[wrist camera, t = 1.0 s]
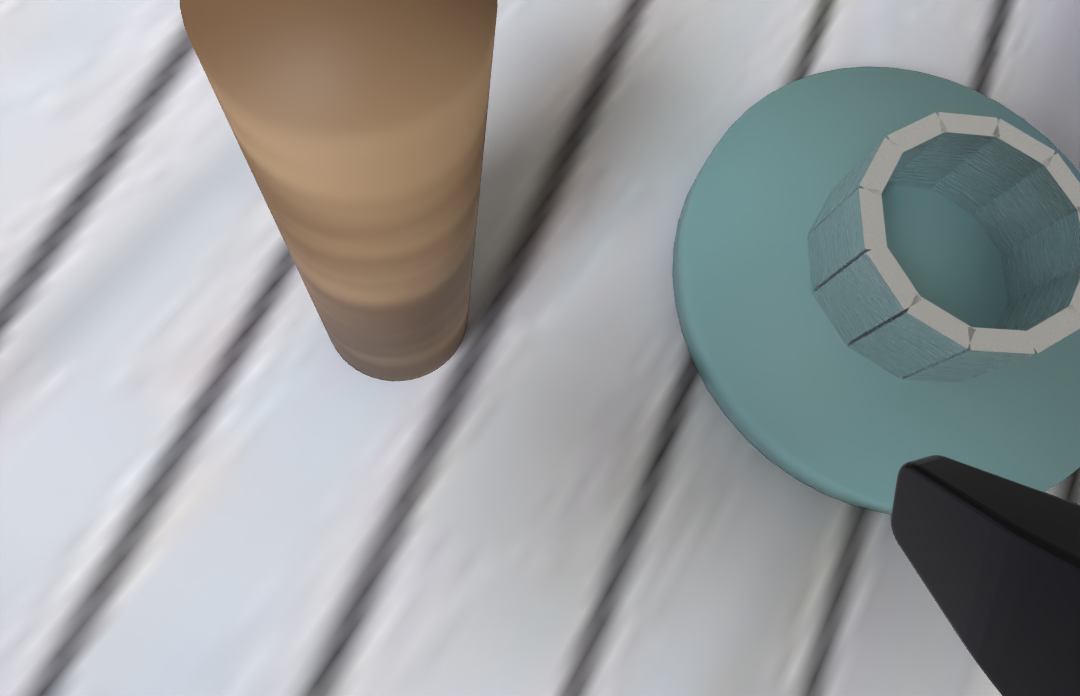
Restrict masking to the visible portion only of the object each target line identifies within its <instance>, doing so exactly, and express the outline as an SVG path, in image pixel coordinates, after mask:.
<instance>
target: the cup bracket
mask: <svg viewBox="0 0 1080 696" xmlns="http://www.w3.org/2000/svg"><path fill="white" fill-rule="evenodd" d="M673 284H674V295H675V304H676V308H677V312H678V317H679V321H680V326H681V330H682V333H683V336H684V339H685V341H686V344H687V347H688V349H689V352H690V355H691V358H692V360H693V362H694V364H695V366H696V368H697V370H698V372H699V374H700V376H701V378H702V380H703V382H704V384H705V385H706V387H707V389H708V390H709V392H710V393H711V395H712V396H713V398H714V399H715V401H716V402H717V404H718V405H719V407H720V408H721V410H722V411H723V412H724V414H725V415H726V416H727V417H728V419H729V420H730V421H731V422H732V423H733V424H734V425H735V427H736V428H737V429H738V430H739V431H740V432H741V433H742V435H743V436H744V437H745V438H746V439H747V440H748V441H749V442H750V443H751V444H753V445H754V446H755V447H756V448H757V449H758V450H759V451H760V452H761V453H762V454H764V455H765V456H766V457H767V458H768V459H769V460H770V461H772V462H773V463H775V464H776V465H777V466H779V467H780V468H782V469H783V470H784V471H786V472H787V473H789V474H790V475H791V476H793V477H794V478H796V479H797V480H799V481H801V482H803V483H805V484H807V485H808V486H810V487H812V488H814V489H816V490H818V491H820V492H821V493H823V494H825V495H828V496H830V497H833V498H836V499H838V500H841V501H843V502H846V503H848V504H851V505H854V506H857V507H861V508H865V509H869V510H873V511H878V512H882V513H887V514H891V513H892V506H893V500H894V494H895V488H896V481H897V475H898V472H899V470H900V468H901V467H902V465H903V464H905V463H907V462H910V461H914V460H917V459H921V458H924V457H928V456H931V455H941V456H944V457H948V458H950V459H953V460H956V461H959V462H962V463H964V464H967V465H970V466H973V467H975V468H978V469H981V470H984V471H987V472H989V473H992V474H995V475H998V476H1000V477H1003V478H1006V479H1009V480H1012V481H1014V482H1017V483H1020V484H1023V485H1025V486H1028V487H1031V488H1034V489H1037V490H1039V491H1042V492H1044V491H1046V490H1047V489H1049V488H1051V487H1053V486H1055V485H1057V484H1058V483H1060V482H1062V481H1063V480H1064V479H1065V478H1067V477H1068V476H1069V475H1071V474H1072V473H1073V472H1074V471H1076V470H1077V469H1078V468H1080V173H1079V172H1078V171H1077V170H1076V168H1075V167H1074V166H1073V165H1072V164H1071V162H1070V161H1069V160H1068V159H1067V158H1066V157H1065V156H1064V155H1063V154H1062V153H1061V152H1060V151H1059V150H1058V149H1057V148H1056V147H1055V146H1054V145H1053V144H1052V143H1051V142H1050V141H1049V140H1048V139H1047V138H1046V137H1045V136H1044V135H1042V134H1041V133H1040V132H1039V131H1037V130H1036V129H1035V128H1034V127H1033V126H1031V125H1030V124H1029V123H1028V122H1026V121H1025V120H1024V119H1023V118H1021V117H1019V116H1018V115H1016V114H1015V113H1013V112H1012V111H1010V110H1009V109H1007V108H1006V107H1004V106H1003V105H1001V104H1000V103H998V102H996V101H994V100H992V99H990V98H988V97H986V96H984V95H983V94H981V93H979V92H977V91H975V90H973V89H970V88H968V87H965V86H963V85H960V84H957V83H955V82H952V81H950V80H947V79H944V78H940V77H936V76H933V75H929V74H926V73H922V72H917V71H911V70H904V69H898V68H887V67H856V68H843V69H837V70H832V71H827V72H823V73H818V74H814V75H811V76H808V77H805V78H803V79H800V80H797V81H794V82H791V83H789V84H787V85H786V86H784V87H782V88H780V89H778V90H776V91H774V92H772V93H770V94H769V95H767V96H766V97H764V98H763V99H762V100H760V101H759V102H758V103H756V104H755V105H753V106H752V107H751V108H749V109H748V110H747V111H746V112H745V113H744V114H743V115H742V116H741V117H740V118H739V119H738V120H737V121H736V122H735V123H734V124H733V125H732V126H731V127H730V128H729V129H728V131H727V132H726V133H725V135H724V136H723V137H722V139H721V140H720V142H719V143H718V144H717V146H716V147H715V148H714V150H713V151H712V153H711V155H710V156H709V158H708V159H707V161H706V163H705V164H704V166H703V167H702V169H701V170H700V172H699V174H698V176H697V177H696V179H695V181H694V183H693V185H692V187H691V189H690V191H689V193H688V195H687V197H686V200H685V203H684V206H683V209H682V212H681V215H680V218H679V221H678V226H677V231H676V237H675V242H674V252H673Z"/></svg>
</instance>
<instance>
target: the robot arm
mask: <svg viewBox="0 0 1080 696" xmlns="http://www.w3.org/2000/svg"><path fill="white" fill-rule="evenodd" d="M891 527H892V531H893V534H894V536H895V538H896V540H897V542H898V544H899V545H900V547H901V549H902V550H903V552H904V553H905V555H906V556H907V558H908V559H909V561H910V562H911V564H912V565H913V567H914V568H915V570H916V572H917V573H918V575H919V576H920V578H921V579H922V581H923V582H924V584H925V585H926V587H927V588H928V590H929V592H930V593H931V595H932V596H933V598H934V599H935V601H936V602H937V604H938V605H939V607H940V608H941V610H942V611H943V613H944V615H945V616H946V618H947V619H948V621H949V622H950V624H951V625H952V627H953V628H954V630H955V631H956V633H957V634H958V636H959V638H960V639H961V641H962V642H963V644H964V645H965V646H966V648H967V649H968V651H969V652H970V654H971V655H972V656H973V658H974V659H975V661H976V662H977V663H978V665H979V666H980V667H981V669H982V670H983V671H984V673H985V674H986V675H987V677H988V678H989V679H990V681H991V682H992V683H993V684H994V686H995V687H996V688H997V690H998V691H999V692H1000V693H1001V695H1002V696H1080V505H1078V504H1075V503H1073V502H1070V501H1067V500H1064V499H1062V498H1059V497H1056V496H1053V495H1050V494H1048V493H1045V492H1042V491H1039V490H1037V489H1034V488H1031V487H1028V486H1025V485H1023V484H1020V483H1017V482H1014V481H1012V480H1009V479H1006V478H1003V477H1000V476H998V475H995V474H992V473H989V472H987V471H984V470H981V469H978V468H975V467H973V466H970V465H967V464H964V463H962V462H959V461H956V460H953V459H950V458H948V457H944V456H941V455H931V456H928V457H924V458H921V459H917V460H914V461H910V462H907V463H905V464H903V465H902V467H901V468H900V470H899V472H898V475H897V481H896V488H895V494H894V500H893V506H892V513H891Z"/></svg>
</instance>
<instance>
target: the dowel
mask: <svg viewBox="0 0 1080 696" xmlns="http://www.w3.org/2000/svg"><path fill="white" fill-rule="evenodd" d="M180 9H181V14H182V18H183V22H184V26H185V29H186V31H187V34H188V36H189V39H190V41H191V43H192V45H193V48H194V50H195V52H196V54H197V56H198V58H199V60H200V63H201V65H202V67H203V69H204V71H205V73H206V75H207V77H208V80H209V82H210V84H211V86H212V88H213V90H214V92H215V94H216V97H217V99H218V101H219V103H220V105H221V107H222V109H223V111H224V114H225V116H226V118H227V120H228V122H229V124H230V126H231V129H232V131H233V133H234V135H235V137H236V139H237V141H238V143H239V146H240V148H241V150H242V152H243V154H244V156H245V158H246V160H247V163H248V165H249V167H250V169H251V171H252V173H253V175H254V177H255V180H256V182H257V184H258V186H259V188H260V190H261V192H262V194H263V197H264V199H265V201H266V203H267V205H268V207H269V209H270V212H271V214H272V216H273V218H274V220H275V222H276V224H277V226H278V229H279V231H280V233H281V235H282V237H283V239H284V241H285V243H286V246H287V248H288V250H289V252H290V254H291V256H292V258H293V260H294V263H295V265H296V267H297V269H298V271H299V273H300V275H301V278H302V280H303V282H304V284H305V286H306V288H307V290H308V292H309V295H310V297H311V299H312V301H313V303H314V305H315V307H316V309H317V312H318V314H319V316H320V318H321V320H322V322H323V324H324V326H325V329H326V331H327V333H328V335H329V337H330V339H331V341H332V343H333V345H334V347H335V349H336V350H337V352H338V353H339V354H340V356H341V357H342V358H343V359H344V360H345V361H346V362H347V363H348V364H349V365H351V366H352V367H353V368H355V369H356V370H358V371H360V372H361V373H363V374H365V375H368V376H370V377H373V378H377V379H381V380H387V381H405V380H412V379H415V378H419V377H422V376H424V375H427V374H429V373H431V372H433V371H434V370H436V369H438V368H439V367H440V366H442V365H443V364H444V363H445V362H446V361H447V360H448V359H450V358H451V356H452V355H453V354H454V353H455V351H456V350H457V348H458V347H459V345H460V343H461V341H462V339H463V336H464V333H465V330H466V326H467V318H468V307H469V297H470V286H471V276H472V265H473V255H474V245H475V234H476V224H477V213H478V203H479V193H480V182H481V172H482V161H483V151H484V140H485V130H486V120H487V109H488V99H489V88H490V78H491V68H492V57H493V47H494V36H495V26H496V15H497V0H180Z"/></svg>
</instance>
